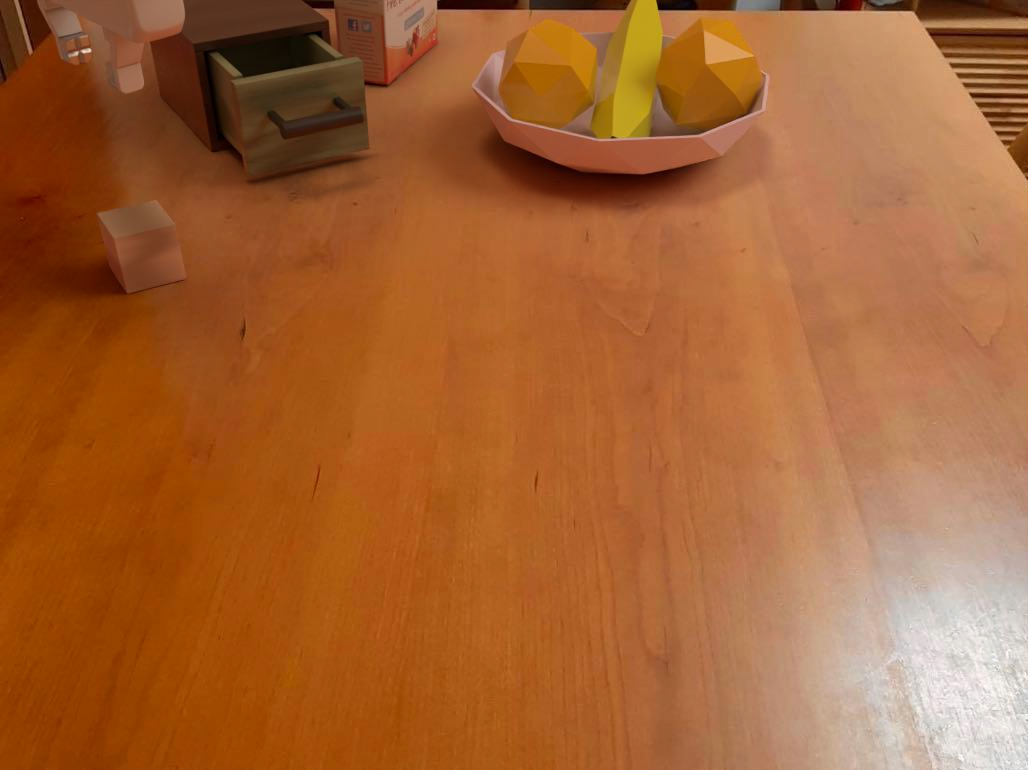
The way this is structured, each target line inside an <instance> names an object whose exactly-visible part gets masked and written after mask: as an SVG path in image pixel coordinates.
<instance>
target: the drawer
mask: <svg viewBox="0 0 1028 770" xmlns="http://www.w3.org/2000/svg"><path fill="white" fill-rule="evenodd" d="M204 58H205V64H206V70H207V76H208V82H209V88H210V94H211V99H212V105H213V111H214V117H215V123H216V128H217V129H218V130H219V132H220V133H221V134H222V135H223V136H224V137H225V138H226V139H227V140H228V141H229V142H230V143H231V144H232V145H233V146H234V147H233V148H234V149H235V150H237V152H238V153H239V154H240V155H241V157H242V163H243V164H242V165H243V170H244V171H245V173H246V175H248V176H253V175H259V174H263V173H268V172H273V171H277V170H281V169H285V168H289V167H294V166H300V165H303V164H308V163H312V162H317V161H322V160H325V159H331V158H334V157H339V156H343V155H349V154H352V153H357V152H361V151H367V150H370V137H369V123H368V114H367V113H368V112H367V100H366V89H365V82H364V75H363V63H362V60H361V59H359V58H358V57H352V58H346V59H343V55H342V54H340V53H339V52H338V50H336V49H335V48H334V47H333V46H332V45H331V46H330V45H329V44H327V43H326V42H325V41H323V40H322V39H321V38H319V37H318V36H317V35H316V34H314V33H313V32H310V33H305V34H299V35H293V36H288V37H282V38H277V39H271V40H265V41H260V42H254V43H248V44H243V45H237V46H232V47H226V48H220V49H215V50H209V51H204Z"/></svg>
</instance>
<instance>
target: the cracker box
mask: <svg viewBox="0 0 1028 770" xmlns="http://www.w3.org/2000/svg"><path fill="white" fill-rule="evenodd" d="M333 6H334V15H335V16H334V19H335V29H336V30H335V31H336V41H337V51H338V52H339V53H340V54H342V55H343V59H346V58H352V57H358V58H359V59H361V60H362V63H363V75H364V83H370V84H376V85H377V84H378V85H385V86H389V85H390V84H391V83H393V82H394V81H395V80H396V79H397V78H398V77H399V76H400V75H402V74H403V73H404V72H406V70H407V69H408V68H410V67H411V66H413V65H414V63H415V62H417V61H418V60H419V59H420V58H421V57H423V56H424V55H425V54H426V53H427V52H428V51H429V50H431V49H432V48H433V47H435V45H437V44H438V42H439V31H438V0H333Z"/></svg>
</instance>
